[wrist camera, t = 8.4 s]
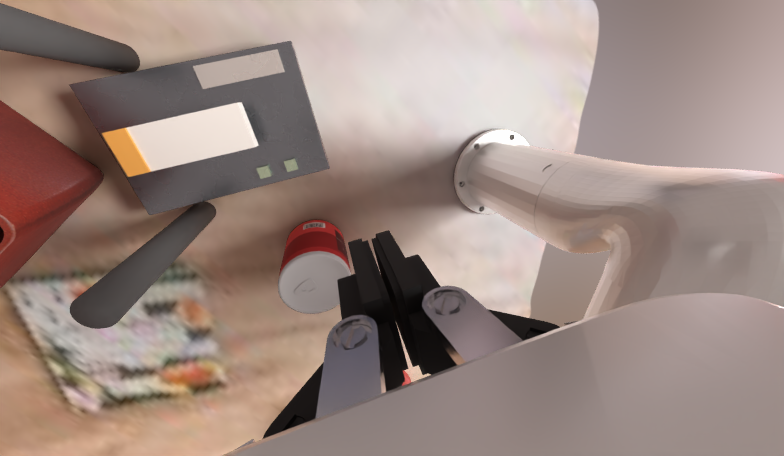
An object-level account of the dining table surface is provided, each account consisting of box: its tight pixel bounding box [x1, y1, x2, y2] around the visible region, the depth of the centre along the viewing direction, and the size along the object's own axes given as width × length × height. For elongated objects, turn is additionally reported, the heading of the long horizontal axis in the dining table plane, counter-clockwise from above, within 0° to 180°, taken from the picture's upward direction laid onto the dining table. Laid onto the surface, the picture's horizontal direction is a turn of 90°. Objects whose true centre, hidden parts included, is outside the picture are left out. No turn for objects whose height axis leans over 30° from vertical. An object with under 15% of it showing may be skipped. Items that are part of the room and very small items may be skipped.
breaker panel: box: [70, 41, 329, 215], centre depth 31 cm, size 20×13×6 cm, turn 102°
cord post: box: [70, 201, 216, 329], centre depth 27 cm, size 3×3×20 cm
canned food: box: [278, 220, 351, 314], centre depth 37 cm, size 8×8×11 cm
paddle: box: [102, 102, 259, 177], centre depth 27 cm, size 12×4×1 cm, turn 102°
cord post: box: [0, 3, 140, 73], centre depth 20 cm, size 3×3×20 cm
